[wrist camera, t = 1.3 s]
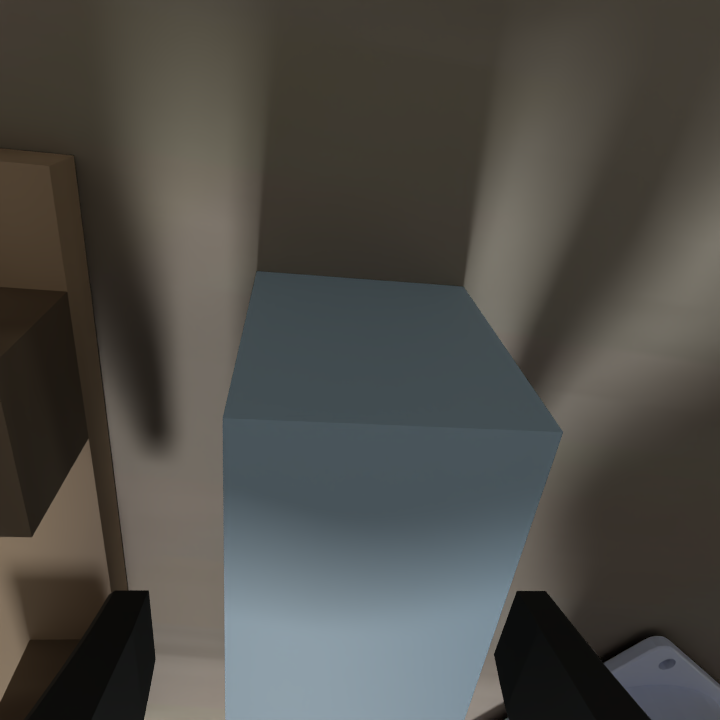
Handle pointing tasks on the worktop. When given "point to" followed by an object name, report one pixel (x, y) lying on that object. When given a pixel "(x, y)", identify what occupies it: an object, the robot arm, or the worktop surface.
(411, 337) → the pale blue rectangular prism
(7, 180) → the cradle jig
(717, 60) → the worktop surface
